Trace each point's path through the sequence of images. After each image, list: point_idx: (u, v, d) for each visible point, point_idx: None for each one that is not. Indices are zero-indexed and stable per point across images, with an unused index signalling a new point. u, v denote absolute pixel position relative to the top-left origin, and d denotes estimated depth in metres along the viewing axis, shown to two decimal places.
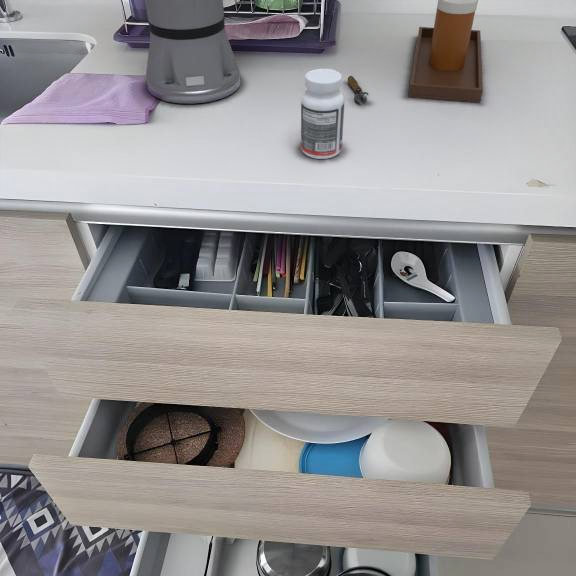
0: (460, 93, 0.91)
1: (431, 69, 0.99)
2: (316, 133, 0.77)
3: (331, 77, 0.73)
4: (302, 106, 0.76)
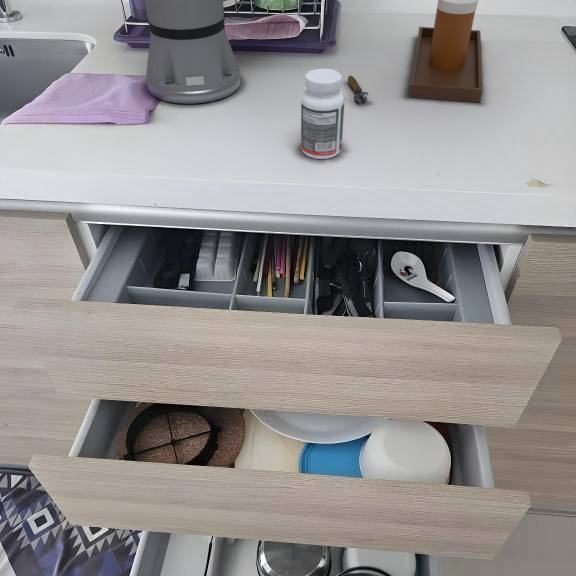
0: (460, 93, 0.91)
1: (431, 69, 0.99)
2: (316, 133, 0.77)
3: (331, 77, 0.73)
4: (302, 106, 0.76)
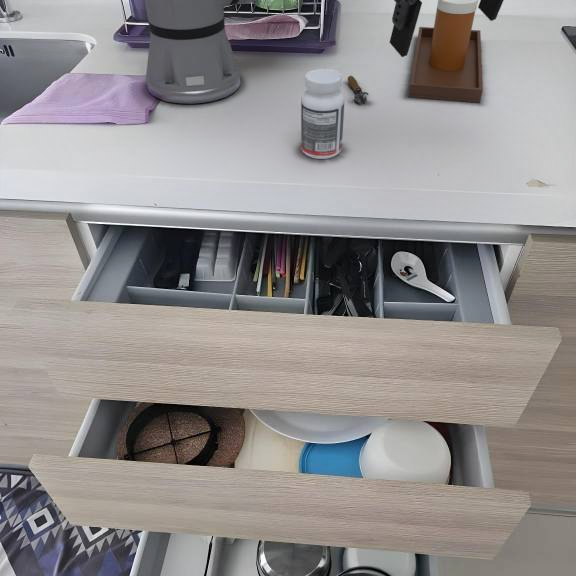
0: (460, 93, 0.91)
1: (431, 69, 0.99)
2: (316, 133, 0.77)
3: (331, 77, 0.73)
4: (302, 106, 0.76)
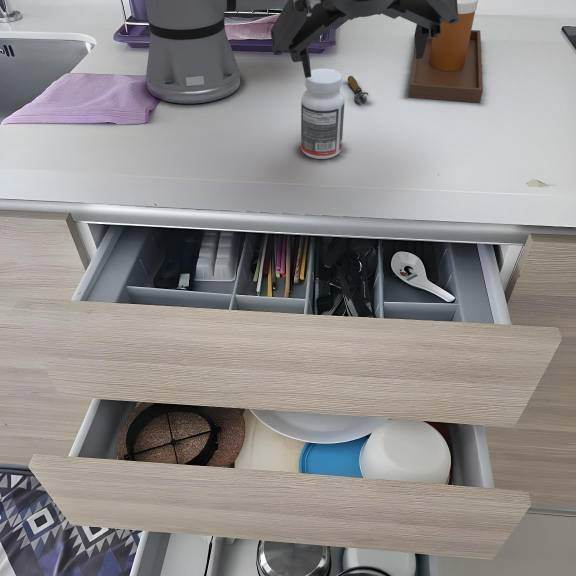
0: (460, 93, 0.91)
1: (431, 69, 0.99)
2: (316, 133, 0.77)
3: (331, 77, 0.73)
4: (302, 106, 0.76)
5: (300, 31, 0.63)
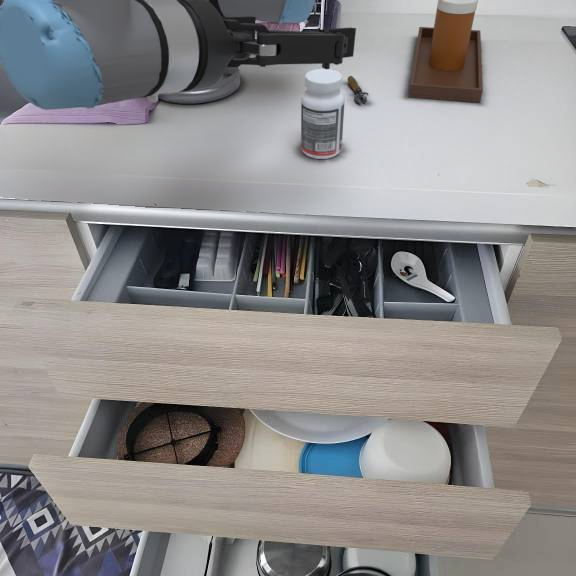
0: (460, 93, 0.91)
1: (431, 69, 0.99)
2: (316, 133, 0.77)
3: (331, 77, 0.73)
4: (302, 106, 0.76)
5: None
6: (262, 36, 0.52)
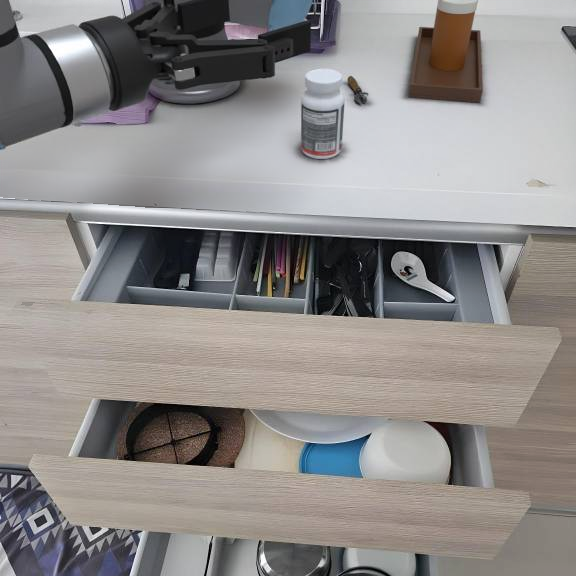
0: (460, 93, 0.91)
1: (431, 69, 0.99)
2: (316, 133, 0.77)
3: (331, 77, 0.73)
4: (302, 106, 0.76)
5: None
6: (174, 62, 0.52)
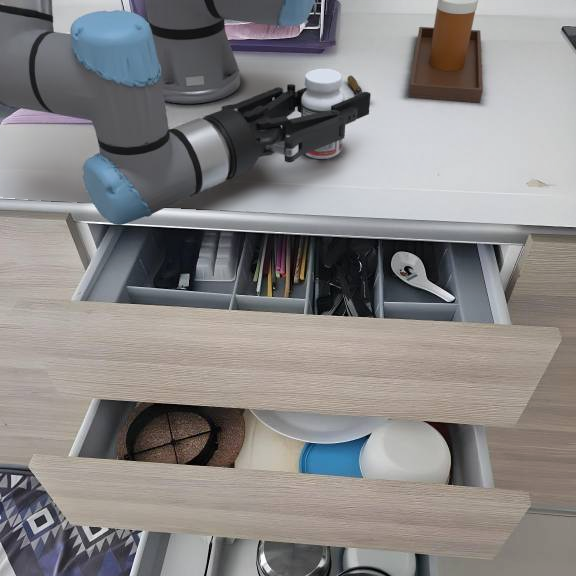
0: (460, 93, 0.91)
1: (431, 69, 0.99)
2: None
3: (331, 77, 0.73)
4: (302, 106, 0.76)
5: None
6: (289, 143, 0.68)
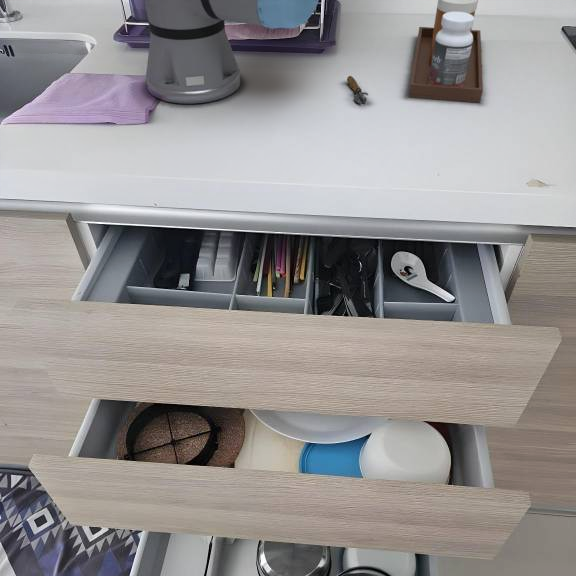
0: (460, 93, 0.91)
1: None
2: (459, 67, 0.90)
3: (465, 16, 0.87)
4: (445, 47, 0.88)
5: None
6: None
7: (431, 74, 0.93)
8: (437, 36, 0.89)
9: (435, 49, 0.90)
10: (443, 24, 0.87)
